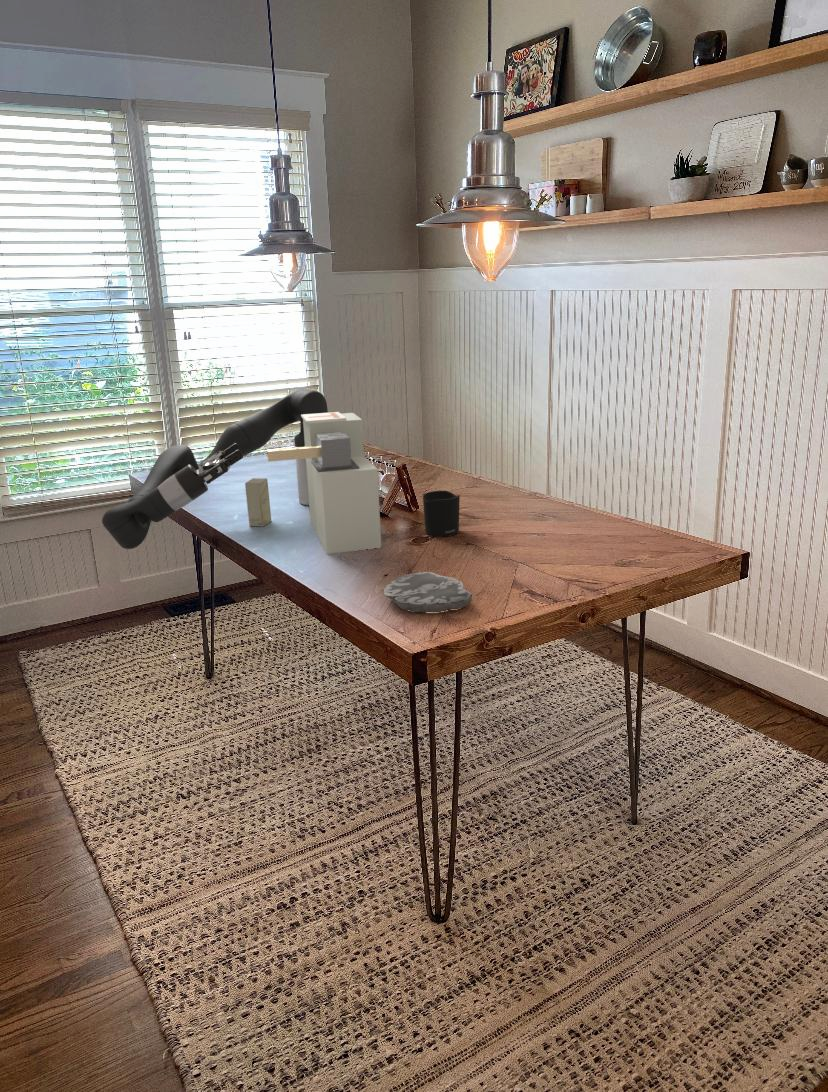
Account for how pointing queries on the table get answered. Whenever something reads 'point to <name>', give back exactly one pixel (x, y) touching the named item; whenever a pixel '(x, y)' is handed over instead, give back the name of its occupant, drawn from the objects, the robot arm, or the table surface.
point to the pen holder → (441, 513)
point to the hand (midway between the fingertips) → (240, 449)
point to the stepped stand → (342, 489)
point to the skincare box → (258, 501)
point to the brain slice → (427, 592)
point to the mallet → (319, 451)
